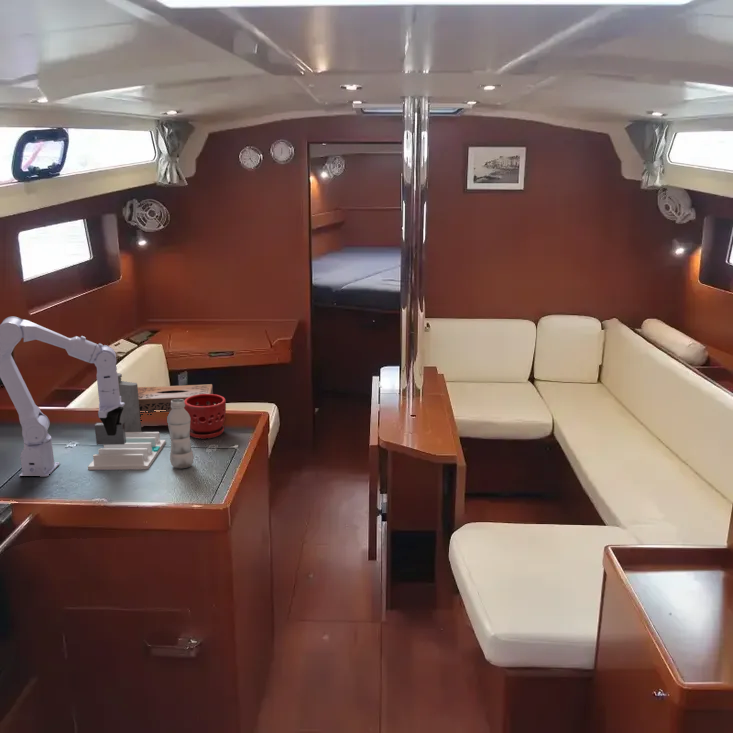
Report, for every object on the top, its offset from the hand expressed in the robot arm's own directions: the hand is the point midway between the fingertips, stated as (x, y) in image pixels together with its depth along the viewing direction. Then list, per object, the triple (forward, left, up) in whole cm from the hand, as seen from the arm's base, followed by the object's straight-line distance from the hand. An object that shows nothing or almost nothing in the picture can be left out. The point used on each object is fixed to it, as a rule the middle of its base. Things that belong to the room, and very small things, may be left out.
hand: (112, 433), depth 216 cm
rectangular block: (0, +1, -3) cm, 3 cm away
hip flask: (+24, +5, -9) cm, 27 cm away
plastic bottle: (-5, -21, -9) cm, 23 cm away
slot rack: (+4, -3, -9) cm, 10 cm away
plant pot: (+22, -23, -9) cm, 33 cm away
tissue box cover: (+38, -9, -9) cm, 40 cm away
